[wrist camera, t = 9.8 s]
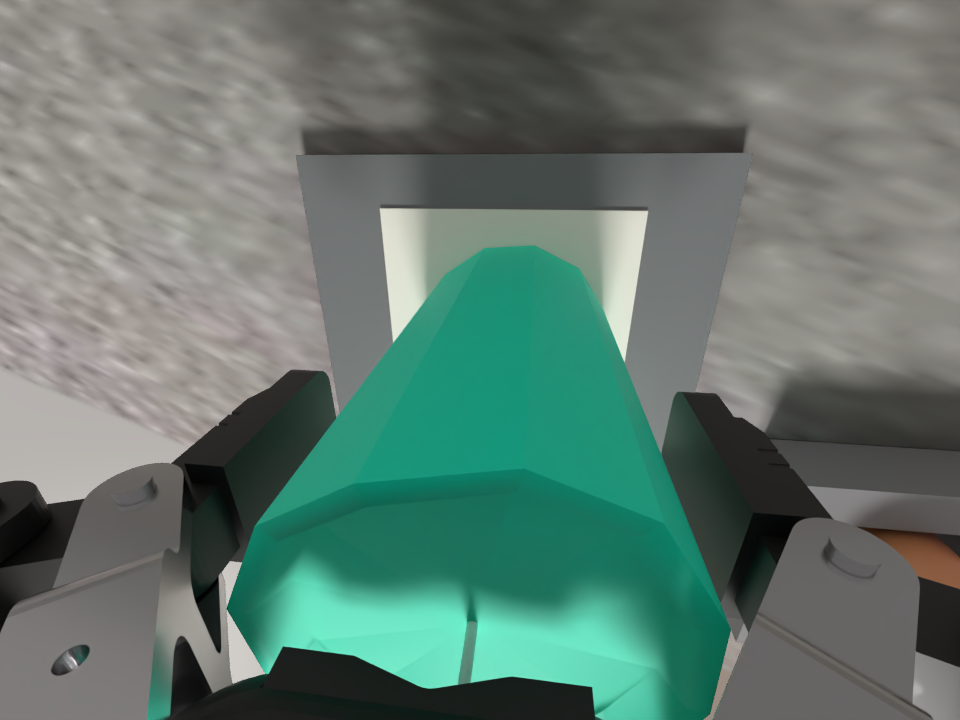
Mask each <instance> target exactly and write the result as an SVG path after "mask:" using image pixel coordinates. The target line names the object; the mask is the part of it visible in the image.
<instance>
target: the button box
mask: <svg viewBox="0 0 960 720" xmlns="http://www.w3.org/2000/svg"><path fill="white" fill-rule="evenodd" d="M770 441H771V442H772V443H773V444H774V445H775V447H776V448H777V449H778V453H779V454H782V455H783V457H784V458H785V459H786V460H787V462H788V463H789V464H790V468H791V469H794V470H795V472H796V473H797V474H798V475H799V477H800V478H801V479H802V480H803V482H804V483H805V484H806V485H807V487H808V488H809V489H810V490H811V492H812V493H813V494H814V495H815V497H816V498H817V499H818V500H819V502H820V503H821V504H822V505H823V507H824V508H825V509H826V510H827V512H828V513H829V514H830V515H831V517H832V518H833V519H834V520H838V521H841V522H844V523H848V524H850V525H853V526H856V527H868V528H879V529H891V530H903V531H915V532H926V533H935V534H936V535H937V536H938V537H939V538H940V539H941V540H942V541H943V542H944V543H945V544H946V545H947V546H948V547H949V548H950V549H951V550H952V551H953V552H955V553H956V554H957V555H958V556H959V557H960V451H946V450H931V449H915V448H900V447H885V446H869V445H854V444H839V443H823V442H808V441H793V440H777V439H770ZM727 620H728V623H729V625H730V628H731V630H732V633H733V635H734V638H735V640H736V642H741V643H744V642H745V640H746V638H747V635H748V631H747V629H746V626H745V624H744V622H743V620H742V619H735V618H727Z"/></svg>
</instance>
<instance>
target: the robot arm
mask: <svg viewBox="0 0 960 720" xmlns="http://www.w3.org/2000/svg"><path fill="white" fill-rule="evenodd" d="M335 419H336V415H335V409H334V403H333V398H332V392H331V386H330V381H329V378H328V376H327V374H326V373H325V372H323V371H309V370H290V371H289V372H288V373H286V374H285V375H284V376H283V377H282V378H281V379H280V380H278V381H277V382H276V383H275V384H274V385H273V386H272V387H270V388H269V389H267V390H265V391H262V392H260V393H258V394H256V395H254V396H252V397H250V398H248V399H247V400H246V401H244V402H243V403H242V404H241V405H240V406H239V407H237V408H236V409H235V410H234V411H233V412H232V415H228V416H227V417H226V418H224V419H223V420H222V421H221V422H220V423H219V426H215V427H214V428H213V429H211V430H210V431H209V432H208V433H207V434H205V435H204V436H203V437H202V438H201V439H200V440H198V441H197V442H196V443H195V444H194V445H192V446H191V447H190V448H189V449H188V450H187V451H185V452H184V453H183V454H182V455H181V456H179V457H178V458H177V459H176V460H175V461H174V462H172V463H171V464H170V463H155V464H148V465H144V466H139V467H136V468H132V469H130V470H127V471H125V472H122V473H120V474H118V475H115V476H114V477H112V478H110V479H108V480H107V481H105V482H103V483H102V484H100V485H99V486H97V488H95V489H94V490H93V491H92V492H90V493H89V494H88V496H87V497H86V498H85V499H81V500H74V501H67V502H60V503H53V504H46V502H45V500H44V499H43V497H42V495H41V494H40V492H39V490H38V488H37V486H36V485H35V484H33V483H31V482H29V481H10V482H3V483H0V720H602V719H600V718H598V717H596V716H595V710H594V700H593V690H592V687H588V686H581V685H573V684H566V683H558V682H551V681H543V680H535V679H528V678H520V677H513V676H510V677H504V678H498V679H491V680H485V681H478V682H472V683H466V684H459V685H453V686H446V687H440V688H431V689H429V688H423V687H420V686H417V685H415V684H413V683H411V682H409V681H407V680H405V679H403V678H400V677H398V676H396V675H394V674H392V673H390V672H388V671H386V670H384V669H381V668H379V667H377V666H375V665H373V664H371V663H369V662H367V661H365V660H362V659H360V658H358V657H356V656H353V655H346V654H338V653H330V652H323V651H315V650H308V649H300V648H292V647H285V646H283V647H282V649H281V651H280V653H279V655H278V657H277V659H276V661H275V663H274V664H273V666H272V668H271V670H270V672H269V674H264V675H259V676H256V677H253V678H249V679H246V680H242V681H240V682H237V683H234V684H233V683H232V678H231V672H230V662H229V645H228V626H227V608H226V589H225V580H224V578H223V575H222V571H223V569H224V568H225V567H226V565H227V564H228V563H229V561H235V562H243V559H244V556H245V553H246V550H247V547H248V544H249V541H250V538H251V535H252V532H253V530H254V527H255V525H256V524H257V522H258V521H259V520H260V518H261V517H262V516H263V514H264V513H265V512H266V510H267V509H268V508H269V507H270V505H271V504H272V503H273V501H274V500H275V499H276V497H277V496H278V495H279V493H280V492H281V491H282V489H283V488H284V487H285V485H286V484H287V483H288V481H289V480H290V479H291V477H292V476H293V475H294V473H295V472H296V471H297V469H298V468H299V467H300V466H301V464H302V463H303V462H304V460H305V459H306V458H307V456H308V455H309V454H310V452H311V451H312V450H313V448H314V447H315V446H316V444H317V443H318V442H319V440H320V439H321V438H322V436H323V435H324V434H325V432H326V431H327V430H328V428H329V427H330V426H331V425H332V423H333V422H334V421H335ZM661 455H662V458H663V460H664V463H665V465H666V468H667V470H668V473H669V475H670V478H671V480H672V483H673V485H674V488H675V490H676V493H677V495H678V498H679V500H680V503H681V505H682V508H683V510H684V513H685V515H686V518H687V521H688V523H689V526H690V528H691V531H692V533H693V536H694V538H695V541H696V543H697V546H698V548H699V551H700V553H701V556H702V558H703V561H704V563H705V566H706V568H707V571H708V573H709V576H710V578H711V581H712V583H713V586H714V588H715V591H716V593H717V596H718V598H719V601H720V603H721V606H722V608H723V611H724V613H725V616H726V618H735V619H742V620H743V622H744V624H745V626H746V629H747V631H748V635H747V638H746V640H745V642H744V645H743V647H742V650H741V652H740V654H739V657H738V659H737V662H736V664H735V666H734V669H733V671H732V674H731V676H730V678H729V681H728V683H727V686H726V688H725V690H724V693H723V695H722V698H721V700H720V703H719V705H718V707H717V710H716V712H715V714H714V717H713V719H712V720H960V589H958V588H955V587H951V586H948V585H945V584H942V583H938V582H935V581H932V580H928V579H925V578H922V577H919V576H917V574H916V573H915V571H914V569H913V568H912V566H911V565H910V564H909V563H908V562H907V560H906V559H905V558H904V557H903V556H902V555H901V554H899V553H898V552H897V551H896V550H895V549H893V548H892V547H891V546H890V545H888V544H887V543H885V542H884V541H882V540H881V539H879V538H878V537H876V536H874V535H872V534H871V533H869V532H867V531H865V530H862V529H860V528H858V527H856V526H853V525H850V524H848V523H844V522H841V521H838V520H834V519H833V518H832V517H831V515H830V514H829V513H828V512H827V510H826V509H825V508H824V507H823V505H822V504H821V503H820V502H819V500H818V499H817V498H816V497H815V495H814V494H813V493H812V492H811V490H810V489H809V488H808V487H807V485H806V484H805V483H804V482H803V480H802V479H801V478H800V477H799V475H798V474H797V473H796V472H795V470H794V469H791V468H790V464H789V463H788V462H787V460H786V459H785V458H784V457H783V455H782V454H779V453H778V449H777V448H776V447H775V445H774V444H773V443H772V442H771V441H770V439H769V438H768V437H767V436H766V434H765V433H764V432H762V431H761V430H759V429H758V428H756V427H755V426H754V425H752V424H751V423H749V422H748V421H746V420H745V419H743V418H736V417H733V415H732V414H731V412H730V411H729V410H728V408H727V407H726V406H725V404H724V403H723V402H722V400H721V399H720V397H719V396H718V395H717V394H714V393H697V392H677V393H676V394H675V396H674V399H673V402H672V406H671V411H670V415H669V420H668V425H667V429H666V434H665V438H664V443H663V447H662V454H661Z"/></svg>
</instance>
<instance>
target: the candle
mask: <svg viewBox="0 0 960 720" xmlns="http://www.w3.org/2000/svg"><path fill="white" fill-rule="evenodd" d="M227 610H228V612H229V614H230V615H231V617H232V619H233V620H234V622H235V624H236V625H237V627H238V629H239V630H240V632H241V634H242V635H243V637H244V639H245V640H246V642H247V644H248V645H249V647H250V649H251V650H252V652H253V654H254V655H255V657H256V659H257V661H258V662H259V664H260V665H261V667H262V669H263V671H264V672H265V674H269V672H270V670H271V668H272V666H273V664H274V663H275V661H276V659H277V657H278V655H279V653H280V651H281V649H282V647H283V646H285V647H292V648H300V649H308V650H315V651H323V652H330V653H338V654H346V655H353V656H356V657H358V658H360V659H362V660H365V661H367V662H369V663H371V664H373V665H375V666H377V667H379V668H381V669H384V670H386V671H388V672H390V673H392V674H394V675H396V676H398V677H400V678H403V679H405V680H407V681H409V682H411V683H413V684H415V685H417V686H420V687H423V688H429V689H431V688H440V687H446V686H453V685H459V684H466V683H472V682H478V681H485V680H491V679H498V678H504V677H510V676H513V677H520V678H528V679H535V680H543V681H551V682H558V683H566V684H573V685H581V686H588V687H592V690H593V700H594V710H595V716H596V717H598V718H600V719H602V720H703V719H704V718H706V717H707V716H708V715H709V714H710V712H711V708H712V703H713V700H714V696H715V692H716V688H717V684H718V680H719V676H720V672H721V668H722V664H723V659H724V655H725V651H726V647H727V643H728V639H729V635H730V631H731V628H730V626H729V623H728V621H727V618H726V616H725V613H724V611H723V608H722V606H721V603H720V601H719V598H718V596H717V593H716V591H715V588H714V586H713V583H712V581H711V578H710V576H709V573H708V571H707V568H706V566H705V563H704V561H703V558H702V556H701V553H700V551H699V548H698V546H697V543H696V541H695V538H694V536H693V533H692V531H691V528H690V526H689V523H688V521H687V518H686V515H685V513H684V510H683V508H682V505H681V503H680V500H679V498H678V495H677V493H676V490H675V488H674V485H673V483H672V480H671V478H670V475H669V473H668V470H667V468H666V465H665V463H664V460H663V458H662V455H661V453H660V450H659V448H658V445H657V443H656V440H655V438H654V435H653V433H652V430H651V428H650V425H649V423H648V420H647V418H646V415H645V413H644V410H643V408H642V405H641V403H640V400H639V398H638V395H637V393H636V390H635V388H634V385H633V383H632V380H631V378H630V375H629V373H628V370H627V368H626V365H625V363H624V360H623V358H622V355H621V353H620V350H619V348H618V345H617V343H616V340H615V338H614V335H613V333H612V330H611V328H610V325H609V323H608V320H607V318H606V315H605V312H604V310H603V308H602V306H601V305H600V303H599V301H598V299H597V298H596V296H595V294H594V293H593V291H592V289H591V288H590V286H589V284H588V282H587V281H586V279H585V277H584V276H583V274H582V272H581V271H580V269H579V268H577V267H575V266H574V265H572V264H570V263H568V262H566V261H564V260H562V259H560V258H558V257H556V256H554V255H552V254H551V253H549V252H547V251H545V250H543V249H541V248H539V247H537V246H535V245H531V246H512V247H493V248H484V249H482V250H481V251H479V252H478V253H476V254H475V255H473V256H472V257H470V258H469V259H467V260H466V261H464V262H463V263H461V264H460V265H458V266H457V267H455V268H454V269H452V270H451V271H449V272H448V273H446V274H445V275H444V276H443V278H442V279H441V280H440V282H439V283H438V284H437V286H436V287H435V288H434V290H433V291H432V292H431V294H430V295H429V296H428V298H427V299H426V300H425V302H424V303H423V304H422V306H421V307H420V308H419V309H418V311H417V312H416V313H415V315H414V316H413V317H412V319H411V320H410V321H409V323H408V324H407V325H406V327H405V328H404V329H403V331H402V332H401V333H400V335H399V336H398V337H397V339H396V340H395V341H394V343H393V344H392V345H391V347H390V348H389V349H388V350H387V352H386V353H385V354H384V356H383V357H382V358H381V360H380V361H379V362H378V364H377V365H376V366H375V368H374V369H373V370H372V372H371V373H370V374H369V376H368V377H367V378H366V380H365V381H364V382H363V384H362V385H361V386H360V387H359V389H358V390H357V391H356V393H355V394H354V395H353V397H352V398H351V399H350V401H349V402H348V403H347V405H346V406H345V407H344V409H343V410H342V411H341V413H340V414H339V415H338V417H337V418H336V419H335V421H334V422H333V423H332V425H331V426H330V427H329V428H328V430H327V431H326V432H325V434H324V435H323V436H322V438H321V439H320V440H319V442H318V443H317V444H316V446H315V447H314V448H313V450H312V451H311V452H310V454H309V455H308V456H307V458H306V459H305V460H304V462H303V463H302V464H301V466H300V467H299V468H298V469H297V471H296V472H295V473H294V475H293V476H292V477H291V479H290V480H289V481H288V483H287V484H286V485H285V487H284V488H283V489H282V491H281V492H280V493H279V495H278V496H277V497H276V499H275V500H274V501H273V503H272V504H271V505H270V507H269V508H268V509H267V510H266V512H265V513H264V514H263V516H262V517H261V518H260V520H259V521H258V522H257V524H256V525H255V527H254V530H253V532H252V535H251V538H250V541H249V544H248V547H247V550H246V553H245V556H244V559H243V562H242V565H241V568H240V571H239V573H238V576H237V580H236V582H235V585H234V588H233V591H232V594H231V597H230V600H229V603H228V606H227Z"/></svg>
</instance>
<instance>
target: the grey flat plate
mask: <svg viewBox="0 0 960 720" xmlns="http://www.w3.org/2000/svg"><path fill="white" fill-rule="evenodd" d="M752 155H753V153H602V154H399V155H296V160H297V166H298V172H299V177H300V183H301V189H302V195H303V201H304V207H305V212H306V218H307V224H308V230H309V236H310V242H311V247H312V253H313V259H314V265H315V271H316V277H317V282H318V288H319V294H320V300H321V306H322V312H323V317H324V323H325V329H326V335H327V341H328V347H329V353H330V358H331V364H332V370H333V376H334V382H335V388H336V393H337V399H338V405H339V411H340V413H341V411H342V410H343V409H344V407H345V406H346V405H347V403H348V402H349V401H350V399H351V398H352V397H353V395H354V394H355V393H356V391H357V390H358V389H359V387H360V386H361V385H362V384H363V382H364V381H365V380H366V378H367V377H368V376H369V374H370V373H371V372H372V370H373V369H374V368H375V366H376V365H377V364H378V362H379V361H380V360H381V358H382V357H383V356H384V354H385V353H386V352H387V350H388V349H389V348H390V347H391V345H392V344H393V343H394V341H395V340H396V339H397V337H398V336H399V335H400V333H401V332H402V331H403V329H404V328H405V327H406V325H407V324H408V323H409V321H410V320H411V319H412V317H413V316H414V315H415V313H416V312H417V311H418V309H419V308H420V307H421V306H422V304H423V303H424V302H425V300H426V299H427V298H428V296H429V295H430V294H431V292H432V291H433V290H434V288H435V287H436V286H437V284H438V283H439V282H440V280H441V279H442V278H443V276H444V275H445V274H446V273H448V272H449V271H451V270H452V269H454V268H455V267H457V266H458V265H460V264H461V263H463V262H464V261H466V260H467V259H469V258H470V257H472V256H473V255H475V254H476V253H478V252H479V251H481V250H482V249H484V248H493V247H512V246H531V245H535V246H537V247H539V248H541V249H543V250H545V251H547V252H549V253H551V254H552V255H554V256H556V257H558V258H560V259H562V260H564V261H566V262H568V263H570V264H572V265H574V266H575V267H577V268H579V269H580V271H581V272H582V274H583V276H584V277H585V279H586V281H587V282H588V284H589V286H590V288H591V289H592V291H593V293H594V294H595V296H596V298H597V299H598V301H599V303H600V305H601V306H602V308H603V310H604V312H605V315H606V318H607V320H608V323H609V325H610V328H611V330H612V333H613V335H614V338H615V340H616V343H617V345H618V348H619V350H620V353H621V355H622V358H623V360H624V363H625V365H626V368H627V370H628V373H629V375H630V378H631V380H632V383H633V385H634V388H635V390H636V393H637V395H638V398H639V400H640V403H641V405H642V408H643V410H644V413H645V415H646V418H647V420H648V423H649V425H650V428H651V430H652V433H653V435H654V438H655V440H656V443H657V445H658V448H659V450H660V453H661V454H662V447H663V443H664V438H665V434H666V429H667V425H668V420H669V415H670V411H671V406H672V402H673V399H674V396H675V394H676V393H677V392H695V391H696V386H697V382H698V378H699V374H700V370H701V366H702V362H703V358H704V353H705V349H706V345H707V341H708V337H709V333H710V329H711V325H712V320H713V316H714V312H715V308H716V304H717V300H718V296H719V291H720V287H721V283H722V279H723V275H724V271H725V267H726V263H727V258H728V254H729V250H730V246H731V242H732V238H733V234H734V230H735V225H736V221H737V217H738V213H739V209H740V205H741V201H742V197H743V192H744V188H745V184H746V180H747V176H748V172H749V168H750V164H751V159H752Z"/></svg>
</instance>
